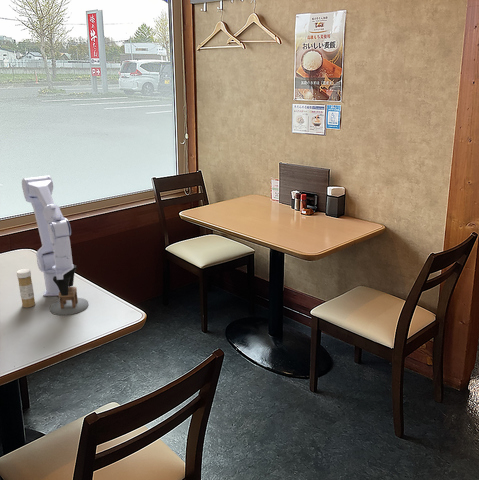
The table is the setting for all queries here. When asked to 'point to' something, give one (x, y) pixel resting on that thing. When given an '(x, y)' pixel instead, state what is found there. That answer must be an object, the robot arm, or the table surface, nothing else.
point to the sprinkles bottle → (26, 287)
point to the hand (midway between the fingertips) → (67, 290)
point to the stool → (69, 297)
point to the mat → (69, 307)
